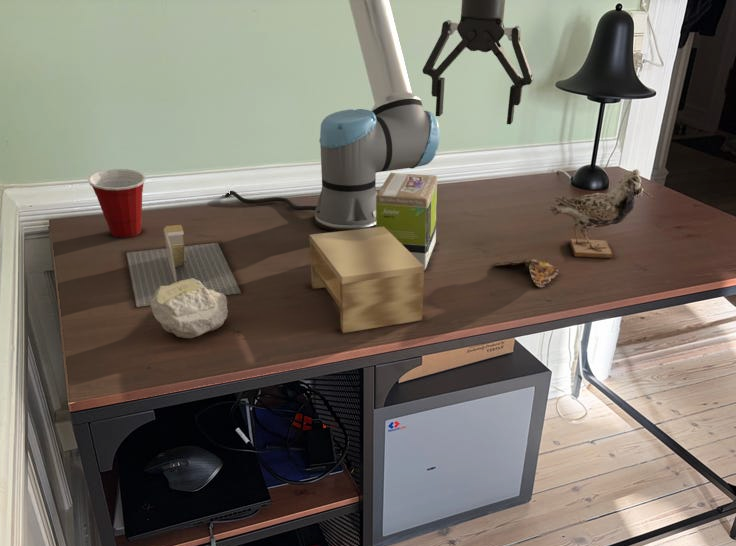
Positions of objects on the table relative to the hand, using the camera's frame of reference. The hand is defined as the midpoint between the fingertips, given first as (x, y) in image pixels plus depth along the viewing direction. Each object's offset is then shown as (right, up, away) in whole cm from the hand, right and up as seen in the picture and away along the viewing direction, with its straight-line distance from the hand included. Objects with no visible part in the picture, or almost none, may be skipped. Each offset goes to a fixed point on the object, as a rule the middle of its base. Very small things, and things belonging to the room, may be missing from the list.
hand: (474, 118), depth 139 cm
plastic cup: (-72, -19, +15) cm, 76 cm away
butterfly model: (+12, -29, +6) cm, 31 cm away
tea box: (-13, -24, +11) cm, 30 cm away
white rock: (-46, -41, -20) cm, 65 cm away
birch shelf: (-20, -35, -9) cm, 41 cm away
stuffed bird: (+26, -22, +17) cm, 38 cm away
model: (-55, -29, -1) cm, 62 cm away
